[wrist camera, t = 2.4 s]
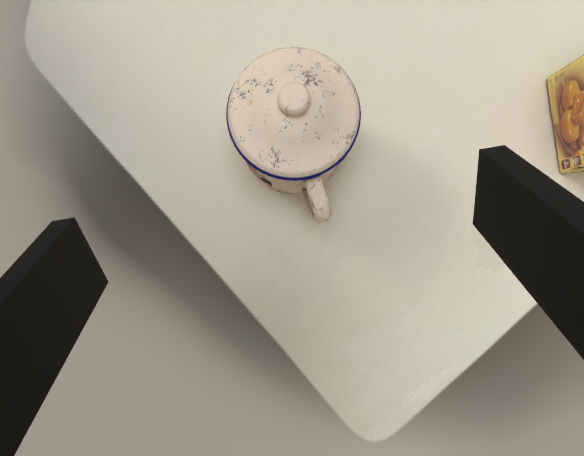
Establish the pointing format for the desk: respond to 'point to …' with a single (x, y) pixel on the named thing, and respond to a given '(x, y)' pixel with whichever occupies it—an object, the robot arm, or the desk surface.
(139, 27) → the desk surface
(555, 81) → the candy box
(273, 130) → the teacup with lid
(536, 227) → the robot arm
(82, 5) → the desk surface
